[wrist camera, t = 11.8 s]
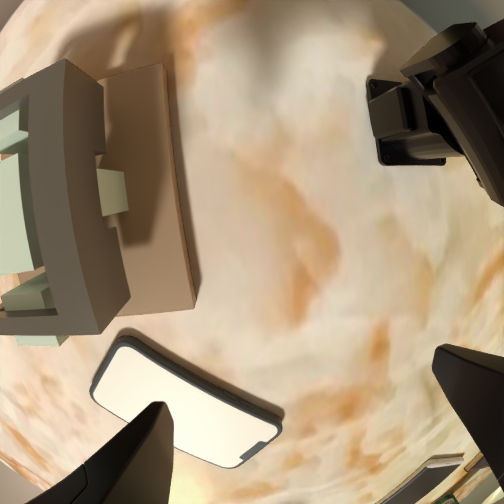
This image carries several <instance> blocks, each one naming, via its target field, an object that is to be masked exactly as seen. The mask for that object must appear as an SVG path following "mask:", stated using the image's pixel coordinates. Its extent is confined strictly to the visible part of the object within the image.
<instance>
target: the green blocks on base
mask: <svg viewBox="0 0 504 504" xmlns="http://www.w3.org/2000/svg"><path fill="white" fill-rule="evenodd" d="M22 80H24V79H23V78H21V79H19V80H17V81H16V82H14V83H12V84H11V85H9V86H8V87H6V88H4V89H3V90H1V91H0V94H1V93H2V92H4V91H5V90H7V89H9V88H10V87H12V86H13V85H15V84H17V83H19V82H20V81H22ZM97 82H98V83H99V84H101V85H102V86H103V87H104V120H105V138H106V151H107V153H105V154H102V155H98V156H95V159H96V170H97V179H98V188H99V195H100V202H101V209H102V216H103V222H104V228H110V227H116V228H117V234H118V239H119V244H120V250H121V254H122V259H123V264H124V269H125V273H126V277H127V282H128V286H129V290H130V294H131V298H130V299H129V301H128V302H127V303H126V304H125V305H124V307H123V308H122V309H121V310H120V311H119V313H118V314H117V315H116V316H115V317H118V316H130V315H142V314H153V313H163V312H172V311H182V310H191V309H194V307H195V304H196V296H195V290H194V285H193V280H192V275H191V269H190V264H189V258H188V252H187V246H186V240H185V234H184V228H183V221H182V215H181V208H180V201H179V194H178V186H177V179H176V171H175V162H174V154H173V145H172V135H171V125H170V114H169V102H168V89H167V73H166V70H165V68H164V66H163V64H162V63H158V64H154V65H150V66H146V67H142V68H138V69H134V70H130V71H127V72H123V73H120V74H117V75H113V76H110V77H107V78H104V79H101V80H98V81H97ZM28 115H29V105H27V106H25V107H23V108H21V109H20V110H18V111H16V112H14V113H12V114H10V115H9V116H7V117H5V118H4V119H2V120H0V154H1V161H0V276H3V275H9V274H15V273H17V274H18V277H19V281H20V285H19V286H17V287H16V288H14V289H12V290H10V291H8V292H7V293H5V294H3V295H1V299H2V303H3V306H4V309H5V311H17V310H34V309H48V308H56V307H55V304H54V300H53V297H52V294H51V290H50V286H49V283H48V279H47V275H46V271H45V267H44V263H43V259H42V254H41V250H40V245H39V240H38V234H37V229H36V223H35V216H34V209H33V202H32V193H31V183H30V171H29V151H28ZM14 336H15V339H16V341H17V344H18V345H24V346H58V347H60V345H61V344H62V343H63V342H64V341H65V340H66V339H67V338H68V337H69V336H70V335H68V336H17V335H14Z"/></svg>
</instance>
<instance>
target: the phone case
mask: <svg viewBox="0 0 504 504" xmlns="http://www.w3.org/2000/svg"><path fill="white" fill-rule="evenodd" d="M89 392H90V396H91V398H92V399H93V400H94V401H95V402H96V403H97V404H98V405H100V406H101V407H103V408H104V409H106V410H107V411H109V412H111V413H112V414H114V415H115V416H117V417H119V418H120V419H122V420H124V421H125V422H127V423H129V422H130V421H132V420H133V419H134V418H135V417H136V416H137V415H138V414H139V413H140V412H141V411H142V410H144V409H145V408H146V407H147V406H148V405H149V404H150V403H151V402H153V401H164V402H166V403H167V405H168V408H169V410H170V413H171V415H172V418H173V421H174V448H176V449H179V450H181V451H183V452H185V453H188V454H190V455H192V456H194V457H197V458H199V459H202V460H204V461H207V462H209V463H212V464H214V465H217V466H220V467H222V468H227V469H232V468H236V467H239V466H240V465H242V464H243V463H244V462H246V461H247V460H248V459H250V458H251V457H252V456H254V455H255V454H256V453H258V452H259V451H260V450H261V449H263V448H264V447H265V446H266V445H268V444H269V443H270V442H271V441H273V440H274V439H275V438H276V437H278V436H279V435H280V434H281V432H282V423H281V419H280V418H279V417H278V416H277V415H275V414H272V413H270V412H268V411H266V410H264V409H262V408H259V407H257V406H255V405H253V404H251V403H249V402H247V401H245V400H243V399H241V398H239V397H237V396H235V395H233V394H231V393H229V392H227V391H225V390H223V389H221V388H219V387H217V386H215V385H213V384H212V383H210V382H208V381H206V380H204V379H202V378H201V377H199V376H197V375H195V374H193V373H192V372H190V371H188V370H186V369H185V368H183V367H181V366H180V365H178V364H176V363H175V362H173V361H171V360H170V359H168V358H166V357H165V356H163V355H162V354H160V353H158V352H157V351H155V350H154V349H152V348H151V347H149V346H147V345H146V344H144V343H143V342H141V341H140V340H138V339H137V338H135V337H132V336H122V337H120V338H119V339H118V340H117V341H116V342H115V344H114V345H113V347H112V349H111V351H110V352H109V354H108V356H107V358H106V359H105V361H104V363H103V365H102V367H101V369H100V370H99V372H98V374H97V376H96V378H95V380H94V381H93V383H92V385H91V387H90V390H89Z"/></svg>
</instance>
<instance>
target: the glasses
mask: <svg viewBox="0 0 504 504" xmlns="http://www.w3.org/2000/svg"><path fill="white" fill-rule="evenodd" d="M27 105H29V115H28V151H29V171H30V183H31V193H32V202H33V209H34V216H35V223H36V229H37V234H38V240H39V245H40V250H41V254H42V259H43V263H44V267H45V271H46V275H47V279H48V283H49V286H50V290H51V294H52V297H53V300H54V304H55V307H56V308H48V309H34V310H17V311H5V309H4V306H3V303H1V304H0V335H17V336H68V335H99V334H101V333H102V332H103V331H104V330H105V328H106V327H107V326H108V325H109V323H110V322H111V321H112V320H113V319H114V317H115V316H116V315H117V314H118V313H119V311H120V310H121V309H122V308H123V307H124V305H125V304H126V303H127V302H128V301H129V299H130V298H131V294H130V290H129V286H128V282H127V277H126V273H125V269H124V264H123V259H122V254H121V250H120V244H119V239H118V234H117V228H116V227H110V228H104V222H103V216H102V209H101V202H100V195H99V188H98V179H97V170H96V159H95V156H98V155H102V154H105V153H107V151H106V138H105V120H104V87H103V86H102V85H101V84H99V83H98V82H97V81H95V80H94V79H93V78H91V77H90V76H89V75H87V74H86V73H85V72H83V71H82V70H81V69H79V68H78V67H76V66H75V65H74V64H72V63H71V62H70V61H68V60H67V59H64V60H61V61H59V62H57V63H55V64H53V65H51V66H49V67H47V68H45V69H43V70H41V71H39V72H37V73H35V74H33V75H31V76H29V77H27V78H26V79H24V80H22V81H20V82H19V83H17V84H15V85H13V86H12V87H10V88H9V89H7V90H5V91H4V92H2V93H1V94H0V120H2V119H4V118H5V117H7V116H9V115H10V114H12V113H14V112H16V111H18V110H20V109H21V108H23V107H25V106H27Z"/></svg>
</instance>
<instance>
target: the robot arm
mask: <svg viewBox="0 0 504 504" xmlns="http://www.w3.org/2000/svg"><path fill="white" fill-rule="evenodd" d="M400 71H401V72H402V73H403V75H404V76H405V77H408V78H409V79H410V80H409V81H407V82H405V83H400V82H393V81H385V80H376V79H371V80H369V81H368V82H367V83H366V88H367V93H368V98H369V103H368V106H369V112H370V117H371V123H372V129H373V136H374V137H375V139H376V146H377V153H378V160H379V163H380V164H381V165H383V166H443V165H445V163H446V157H459V156H465V157H466V159H467V160H468V162H469V164H470V166H471V167H472V169H473V171H474V173H475V175H476V177H477V181H478V183H479V185H480V187H482V188H484V189H485V191H486V192H487V194H488V195H489V197H490V199H491V200H493V201H494V202H496V203H498V204H499V205H501V206H503V207H504V19H502V20H500V21H498V22H496V23H494V24H492V25H491V26H489V27H487V28H485V29H483V30H482V28H481V27H480V26H479V25H478V23H477V22H469V23H461V24H453V25H452V26H450V27H448V28H447V29H446V30H444V31H442V32H441V33H439V34H438V35H436V36H435V37H433V38H432V39H431V40H430V41H429V42H428V43H427V44H426V45H425V46H423V47H422V48H421V49H420V50H419V51H418V52H417V53H416V54H415V55H414V56H413V57H412V58H411V59H410V60H409V61H408V62H407V63H406V64H405V65H404V66H403V67H402V68H401V69H400ZM371 84H373V85H374V86H375V88H373V87H372V85H371ZM384 156H386V157H387V161H386V162H385V161H384ZM440 158H441V161H440ZM432 371H433V373H434V375H435V377H436V379H437V381H438V382H439V384H440V386H441V388H442V390H443V392H444V394H445V395H446V397H447V399H448V401H449V403H450V404H451V406H452V407H453V409H454V410H455V412H456V413H457V415H458V416H459V418H460V419H461V421H462V422H463V424H464V426H465V427H466V429H467V430H468V432H469V433H470V435H471V436H472V438H473V440H474V441H475V443H476V445H477V446H478V448H479V449H480V451H481V453H482V454H483V456H484V458H485V459H486V461H487V463H488V465H489V466H490V468H491V470H492V472H493V473H494V475H495V477H496V479H497V480H498V482H499V484H500V486H501V488H502V490H503V492H504V357H501V356H497V355H493V354H488V353H484V352H480V351H475V350H471V349H467V348H463V347H459V346H455V345H451V344H443V345H440V346H438V347H437V348H436V349H435V353H434V358H433V363H432ZM173 457H174V421H173V418H172V415H171V413H170V410H169V408H168V405H167V403H166V402H164V401H153V402H151V403H150V404H149V405H148V406H147V407H146V408H145V409H144V410H142V411H141V412H140V413H139V414H138V415H137V416H136V417H135V418H134V419H133V420H132V421H130V422H129V423H128V424H127V425H126V426H125V427H124V428H123V429H122V430H120V431H119V432H118V433H117V434H116V435H115V436H114V437H113V438H112V439H110V440H109V441H108V442H107V443H106V444H105V445H104V446H103V447H101V448H100V449H99V450H98V451H97V452H96V453H94V454H93V455H92V456H91V457H90V458H89V459H88V460H86V461H85V462H84V464H82V465H80V466H79V467H78V468H77V469H76V470H74V471H73V472H72V473H71V474H69V475H68V476H67V477H66V478H64V479H63V480H62V481H60V482H59V483H57V484H56V485H54V486H53V487H51V488H50V489H48V490H46V491H45V492H43V493H42V494H40V495H39V496H37V497H35V498H34V499H32V500H30V501H28V502H27V503H25V504H168V501H169V493H170V486H171V479H172V472H173Z"/></svg>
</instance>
